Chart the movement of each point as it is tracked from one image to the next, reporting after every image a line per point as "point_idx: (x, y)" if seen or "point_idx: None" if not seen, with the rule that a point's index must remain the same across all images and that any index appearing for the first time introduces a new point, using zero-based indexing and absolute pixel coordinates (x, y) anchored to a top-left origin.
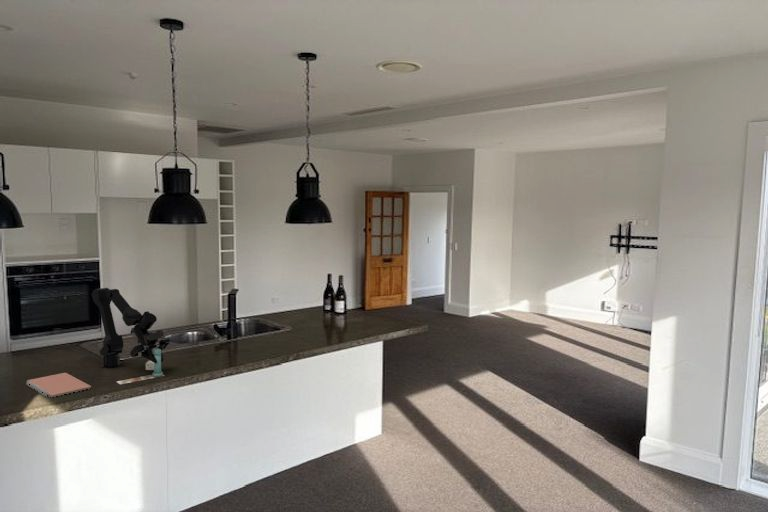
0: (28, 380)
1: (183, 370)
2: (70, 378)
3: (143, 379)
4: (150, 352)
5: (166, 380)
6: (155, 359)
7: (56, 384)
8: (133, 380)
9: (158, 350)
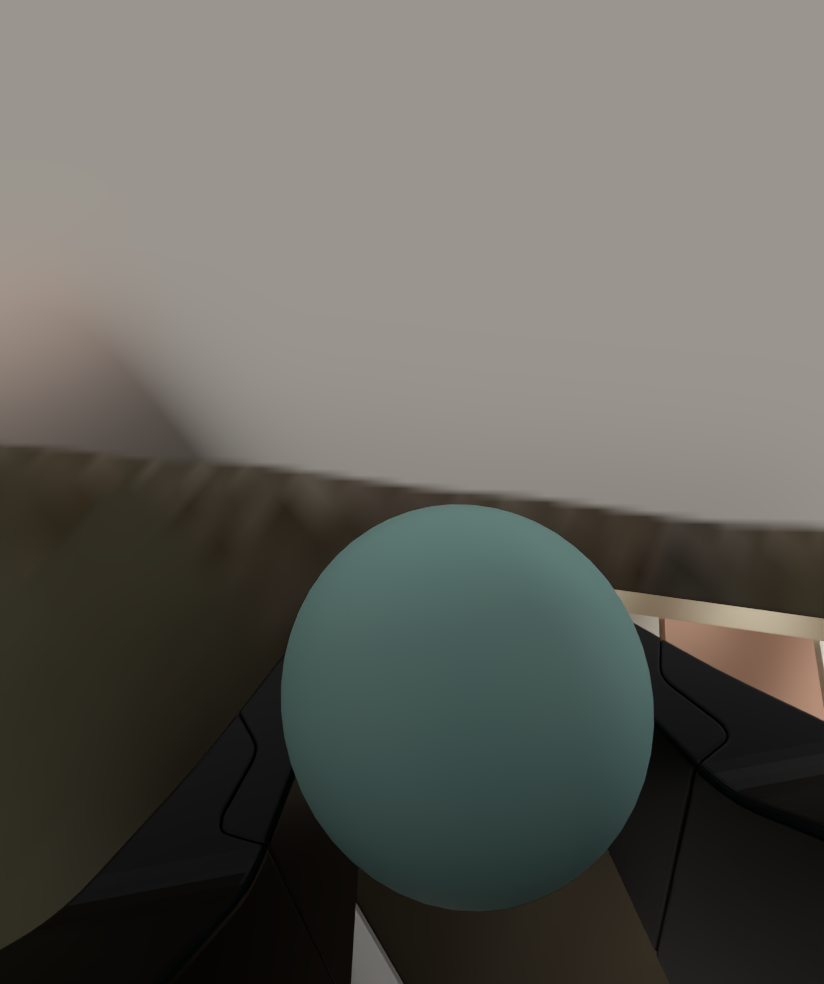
0: None
1: (25, 720)
2: None
3: (652, 631)
4: (821, 762)
5: None
6: None
7: None
8: (780, 689)
9: (493, 522)
